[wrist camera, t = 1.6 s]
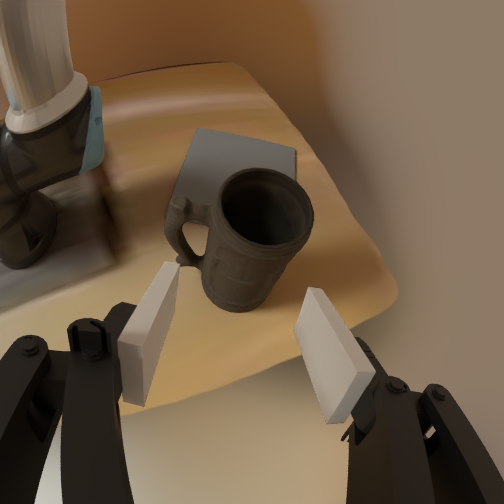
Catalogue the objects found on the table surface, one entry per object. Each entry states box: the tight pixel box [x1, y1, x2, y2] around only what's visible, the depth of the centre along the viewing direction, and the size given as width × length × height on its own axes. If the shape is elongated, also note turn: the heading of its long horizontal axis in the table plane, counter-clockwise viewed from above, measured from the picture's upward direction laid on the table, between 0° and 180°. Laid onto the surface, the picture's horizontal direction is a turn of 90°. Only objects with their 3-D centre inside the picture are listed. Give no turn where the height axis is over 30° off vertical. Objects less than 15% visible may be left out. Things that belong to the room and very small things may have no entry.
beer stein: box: [164, 167, 314, 312], centre depth 34 cm, size 15×11×20 cm
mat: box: [165, 128, 295, 225], centre depth 52 cm, size 24×22×1 cm
